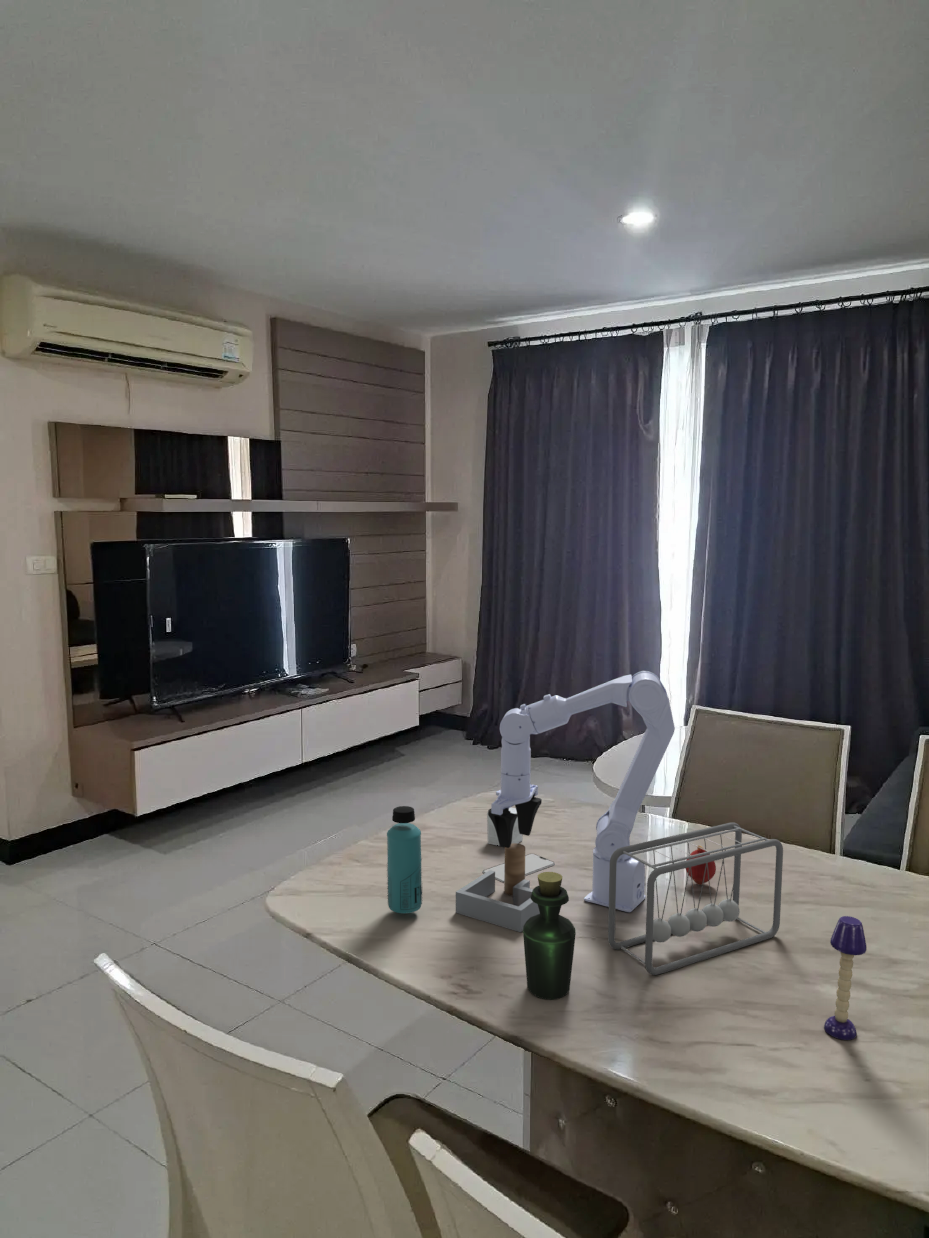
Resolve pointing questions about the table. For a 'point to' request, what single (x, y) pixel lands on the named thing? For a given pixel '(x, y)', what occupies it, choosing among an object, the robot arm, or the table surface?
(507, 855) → the peg
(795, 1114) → the table surface
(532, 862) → the smartphone
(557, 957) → the potion bottle
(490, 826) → the skincare box
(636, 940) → the newton's cradle
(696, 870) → the onion
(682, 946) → the table surface
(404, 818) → the beverage bottle
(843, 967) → the toy lamp
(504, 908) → the channel
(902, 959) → the table surface
